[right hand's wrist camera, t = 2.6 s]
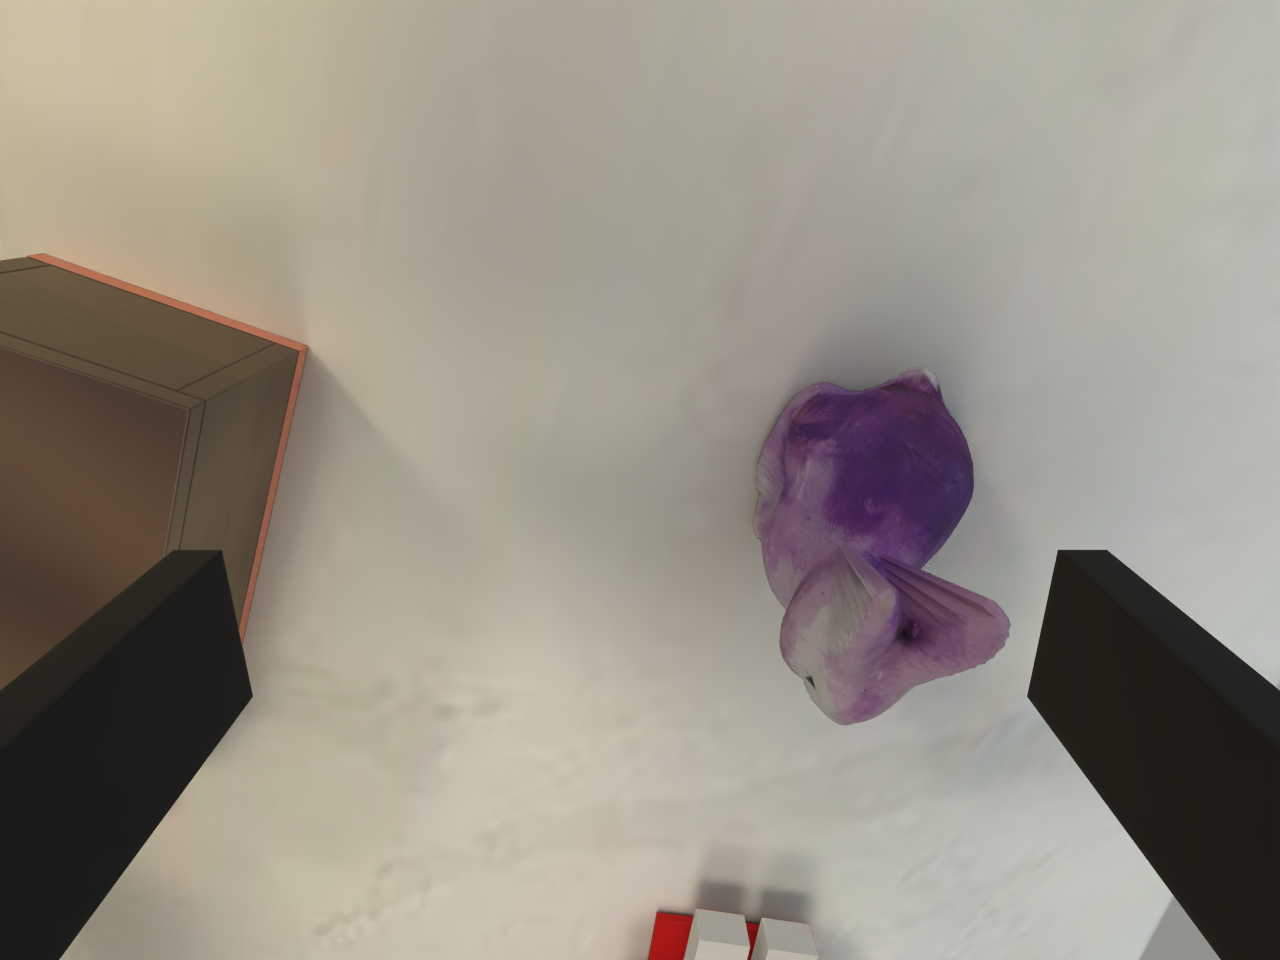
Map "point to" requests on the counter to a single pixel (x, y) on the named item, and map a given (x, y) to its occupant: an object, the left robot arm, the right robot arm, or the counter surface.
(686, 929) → the toy
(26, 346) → the cabinet
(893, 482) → the figurine
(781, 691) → the counter surface
